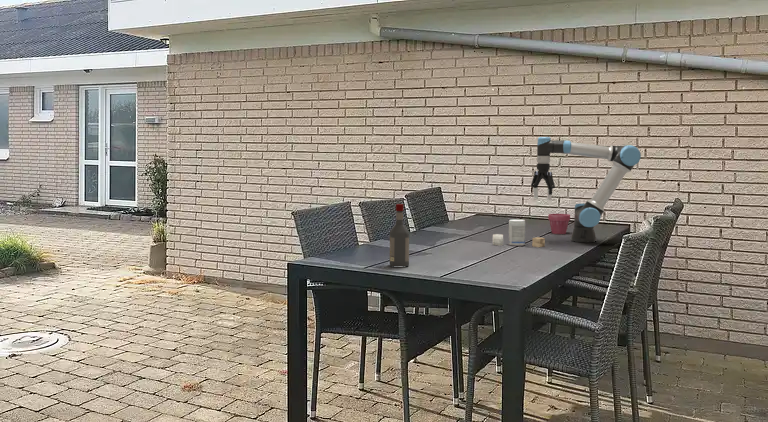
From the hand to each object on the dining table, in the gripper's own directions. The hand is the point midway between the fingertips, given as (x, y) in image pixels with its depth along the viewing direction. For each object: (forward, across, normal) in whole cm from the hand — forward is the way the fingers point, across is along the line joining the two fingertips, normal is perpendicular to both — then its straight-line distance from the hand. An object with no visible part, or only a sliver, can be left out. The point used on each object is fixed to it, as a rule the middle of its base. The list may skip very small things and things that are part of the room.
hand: (542, 199), depth 426 cm
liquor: (+26, +35, -114) cm, 122 cm away
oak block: (+26, +10, -10) cm, 30 cm away
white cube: (+26, -5, -28) cm, 39 cm away
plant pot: (+27, -32, +40) cm, 58 cm away
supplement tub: (+27, 0, -18) cm, 32 cm away
